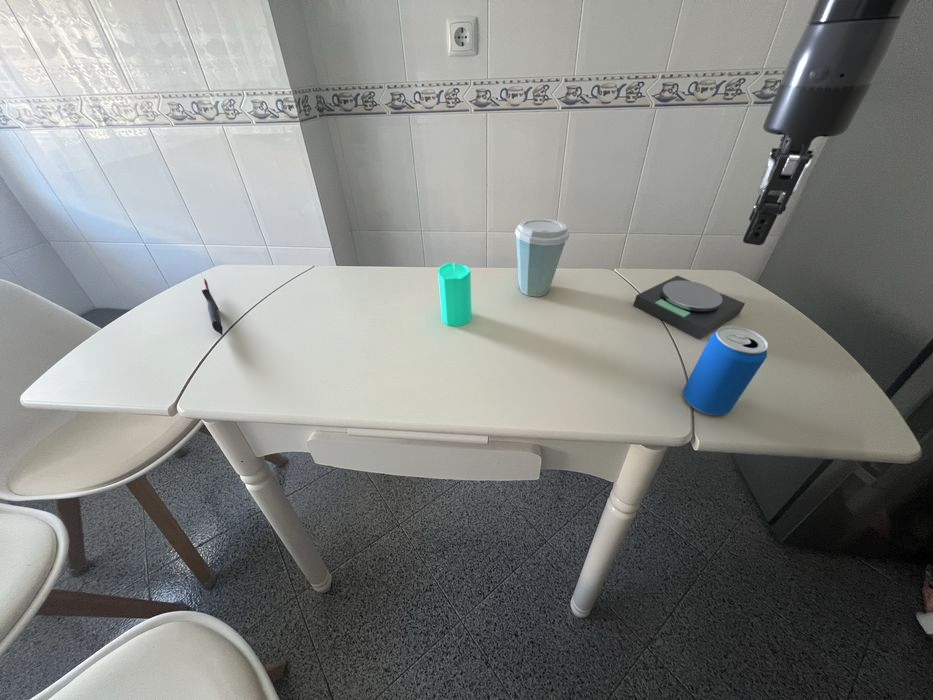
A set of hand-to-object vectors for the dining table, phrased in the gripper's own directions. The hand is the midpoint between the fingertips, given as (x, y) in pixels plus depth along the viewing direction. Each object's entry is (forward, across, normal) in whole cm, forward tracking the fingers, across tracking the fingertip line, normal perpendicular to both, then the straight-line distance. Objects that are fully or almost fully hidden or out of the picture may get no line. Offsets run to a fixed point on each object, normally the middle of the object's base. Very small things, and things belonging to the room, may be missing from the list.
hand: (754, 231), depth 48 cm
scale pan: (+19, +15, +4) cm, 24 cm away
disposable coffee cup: (+21, +6, +33) cm, 40 cm away
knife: (+20, -38, +86) cm, 97 cm away
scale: (+22, +15, +4) cm, 27 cm away
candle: (+21, -13, +42) cm, 48 cm away
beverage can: (+22, -10, -3) cm, 25 cm away
